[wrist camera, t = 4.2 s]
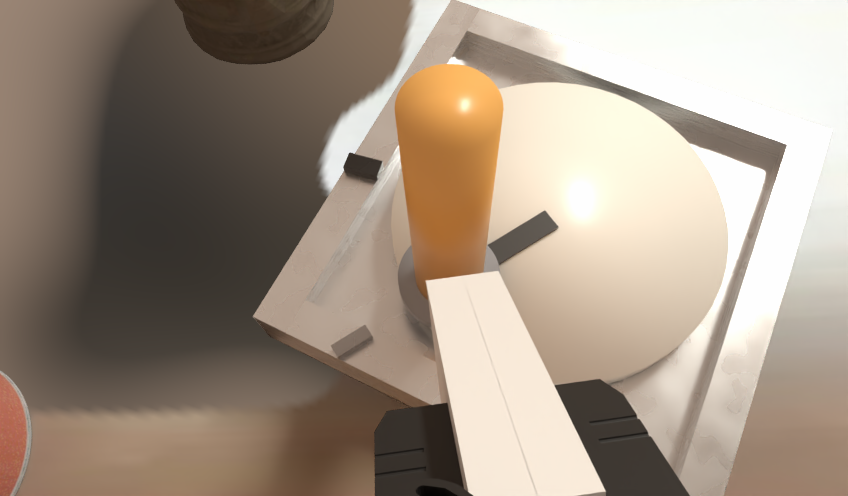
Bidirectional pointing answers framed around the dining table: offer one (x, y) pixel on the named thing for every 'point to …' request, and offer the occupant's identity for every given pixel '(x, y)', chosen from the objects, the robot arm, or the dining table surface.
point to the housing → (646, 391)
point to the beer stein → (255, 27)
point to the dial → (558, 215)
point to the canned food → (13, 436)
